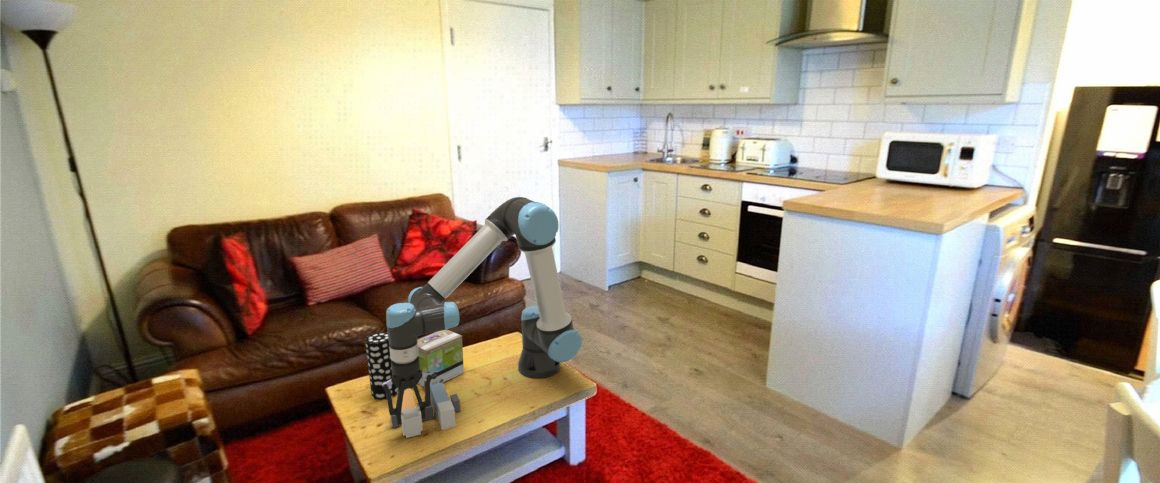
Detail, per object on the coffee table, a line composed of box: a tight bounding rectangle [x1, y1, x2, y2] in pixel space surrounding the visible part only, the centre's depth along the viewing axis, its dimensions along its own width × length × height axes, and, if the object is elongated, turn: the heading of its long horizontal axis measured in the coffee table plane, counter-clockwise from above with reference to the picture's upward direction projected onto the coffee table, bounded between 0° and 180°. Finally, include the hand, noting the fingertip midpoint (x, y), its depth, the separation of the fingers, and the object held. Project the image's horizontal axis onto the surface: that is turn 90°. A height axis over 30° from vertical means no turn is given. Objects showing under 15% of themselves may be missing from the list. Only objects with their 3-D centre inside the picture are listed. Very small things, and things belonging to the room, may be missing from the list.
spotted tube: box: [364, 331, 398, 401], centre depth 171 cm, size 8×8×20 cm
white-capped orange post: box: [397, 389, 422, 439], centre depth 159 cm, size 4×18×6 cm, turn 25°
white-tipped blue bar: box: [430, 382, 456, 431], centre depth 163 cm, size 4×18×6 cm, turn 25°
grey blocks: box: [389, 393, 461, 429], centre depth 161 cm, size 20×4×4 cm, turn 115°
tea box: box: [417, 329, 465, 388], centre depth 182 cm, size 15×10×15 cm
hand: (412, 430), depth 154 cm, fingers closed on white-capped orange post, 4 cm apart
